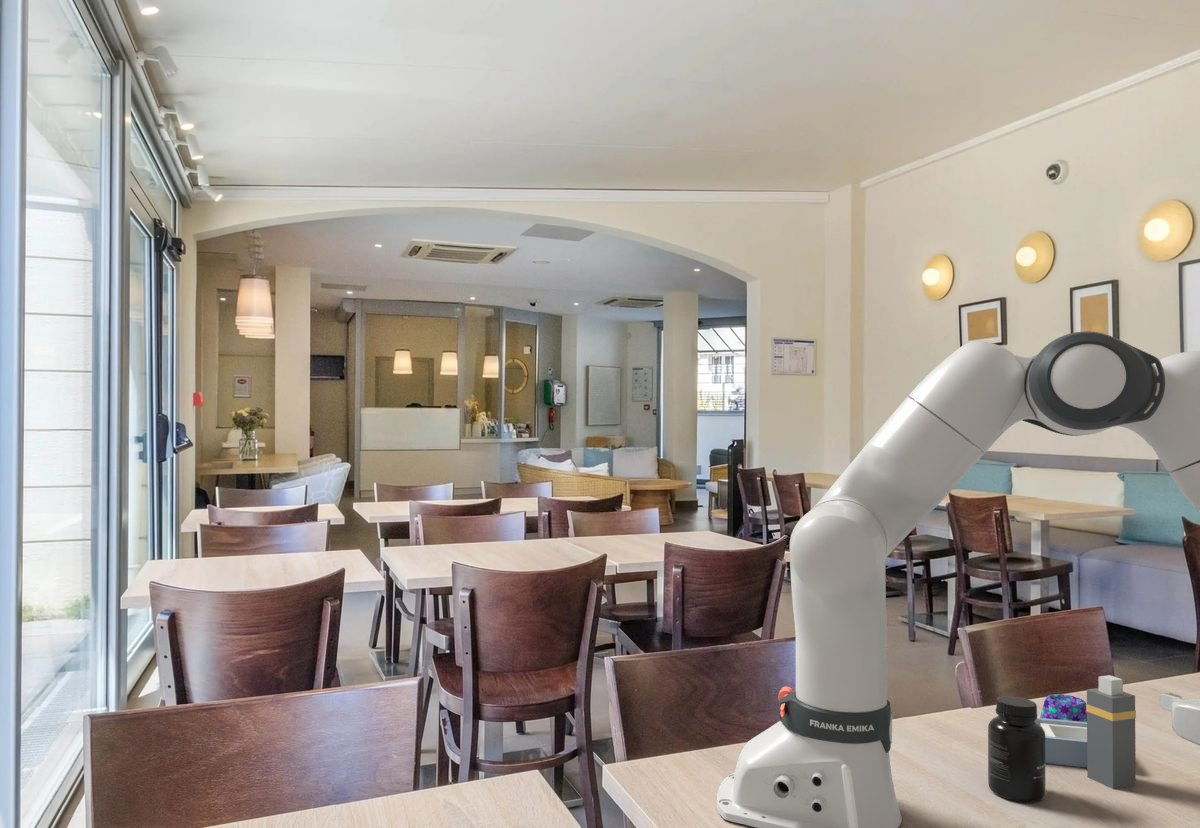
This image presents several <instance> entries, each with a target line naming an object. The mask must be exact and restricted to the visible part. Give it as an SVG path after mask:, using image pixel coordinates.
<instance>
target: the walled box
mask: <svg viewBox="0 0 1200 828" xmlns="http://www.w3.org/2000/svg"><path fill="white" fill-rule="evenodd" d="M1035 722H1037V723H1038V724H1039V725H1040V726H1041V727H1042V728H1043V730H1044V732H1045V764H1050V765H1060V766H1068V767H1077V768H1087V722H1078V721H1068V720H1057V719H1047V718H1037V719H1036V720H1035Z"/></svg>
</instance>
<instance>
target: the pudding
mask: <svg viewBox="0 0 1200 828" xmlns="http://www.w3.org/2000/svg"><path fill="white" fill-rule="evenodd" d="M1086 704H1087V701H1085V700H1084V699H1082V698H1081V697H1076V696H1074V695H1068V694H1062V693H1056V694H1048V695H1047V696H1046V697H1045V699H1044V701H1043V705H1042V709H1041V713H1040V714H1037V718H1047V719H1057V720H1068V721H1078V722H1087V711H1086Z"/></svg>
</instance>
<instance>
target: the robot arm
mask: <svg viewBox="0 0 1200 828" xmlns="http://www.w3.org/2000/svg"><path fill="white" fill-rule="evenodd" d="M1022 421H1023V422H1025V423H1028V424H1032V425H1033V426H1037V427H1039V428H1042V429H1045V430H1047V431H1050V432H1053V433H1056V434H1060V435H1065V436H1071V437H1074V436H1075V437H1079V436H1080V437H1081V436H1089V435H1094V434H1098V433H1101V432H1105V431H1106V430H1109V429H1111V428H1115V427H1121V428H1125V429H1128V430H1130V431H1132V432H1133V433H1136V434H1137V435H1139V436H1140V437H1141V438H1142V439H1143V440H1144V441H1145V442H1146V443H1147V444H1148V445H1149V446H1150V447H1151V448H1152V450H1154V452H1155V454H1156V455H1157V458H1158V459H1159V461H1160V462H1161V464H1162V465H1163V466H1164V469H1165V470H1166V471H1167V472H1168V475H1170V477H1171V478H1172V481H1173V482H1174V483H1175V485H1176V486H1177V487H1178V489H1179V491H1180V492H1181V493H1182V494H1183V496H1184V498H1185V499H1186V500H1187V501H1188V502H1189V503H1190V504H1191V505H1192V506H1193V508H1195V509H1196V510H1197V511H1199V513H1200V351H1195V350H1194V351H1185V352H1178V353H1173V354H1170V355H1168V356H1164V357H1163V358H1160V359H1159V358H1158V357H1157V356H1155V355H1152V354H1151V353H1148V352H1146V351H1144V350H1142V349H1139V348H1137V347H1135V346H1133V345H1131V344H1129V343H1127V342H1125V341H1123V340H1121V339H1120V338H1117V337H1114V336H1112V335H1110V334H1106V333H1102V332H1098V331H1097V332H1096V331H1088V330H1086V331H1084V330H1083V331H1076V332H1071V333H1068V334H1063V335H1062V336H1059V337H1056V339H1054V340H1052V341H1051V342H1049V343H1047V345H1045V346H1044V347H1043V348H1042V349H1041V350H1040V351H1039V352H1038V354H1036V355H1033V356H1031V355H1030V356H1020V355H1017V354H1014V353H1013V352H1011V351H1010V350H1008V349H1007V348H1005V347H1004V346H1001V345H999V344H996V343H993V342H988V341H981V340H977V341H976V340H975V341H971V342H967V343H965V344H963V345H961V346H960V347H959V348H957V349H956V350H954V352H952V353H951V354H950V355H948V356H947V357H945V359H943V360H942V361H941V362H940V363H939V364H938V365H936V366H935V367H934V368H933V369H932V370H931V371H930V372H929V373H928V374H927V375H926V376H925V377H924V378H923V379H922V380H921V381H920V382H918V384H917V385H916V387H914V389H913V390H912V391H911V392H910V393H909V394H908V396H906V397H905V399H904V400H903V401H902V402H901V403H900V404H899V405H898V407H897V408H896V409H895V410H894V412H893V413H892V414H891V415H890V417H888V419H887V420H886V421H885V422H884V423H883V424H882V425H881V427H880V428H879V429H878V430H877V431H876V432H875V434H874V435H873V436H872V437H871V438H870V439H869V441H868V442H867V443H866V444H865V446H863V448H862V449H861V450H860V451H859V452H858V454H857V455H856V456H855V458H854V459H853V460H852V461H851V463H850V464H849V465H848V466H847V467H846V468H845V470H844V471H843V472H842V474H840V475H839V477H838V478H837V479H836V480H835V482H834V483H833V484H832V485H831V487H830V488H829V489H828V490H827V491H826V492H825V493H824V495H822V497H821V498H820V500H818V502H817V503H816V504H815V505H814V506H813V507H812V508H811V509H810V510H809V511H808V512H807V513H805V514H804V515H803V516H802V517H801V518H800V519H799V520H798V521H797V522H796V525H794V528H793V530H792V532H791V535H790V539H789V567H790V584H791V585H790V586H791V587H790V588H791V598H792V600H791V601H792V611H793V621H794V630H795V690H793V688H791V687H790V686H783V687H781V689H779V692H778V697H777V699H778V701H779V705H778V717H779V718H778V719H779V721H777V722H776V723H774V724H773V725H770V727H768V728H766V729H765V730H763V731H762V732H761V733H759V734H757V735H756V736H754V737H752V738H751V739H750V740H748V742H747V743H746V744H745V745H744V746H743V747H742V748H741V749H742V750H741V751H740V753H739V755H738V758H737V762H736V766H735V770H734V772H732V773H730V774H728V775H727V776H726V777H725V778H724V779H723V780H722V782H721V783H720V785H719V788H718V789H717V794H716V802H715V804H716V809H717V813H718V814H719V815H720V816H721V818H723V820H726V821H729V822H732V823H736V824H742V825H745V826H749V827H754V828H899V827H900V825H901V824H902V820H903V819H902V813H901V810H900V807H899V804H898V801H897V796H896V792H895V788H894V781H893V774H892V768H891V759H890V757H891V756H890V750H891V747H892V743H893V712H892V707H891V702H890V701H889V700H888V635H887V633H888V632H887V630H888V629H887V601H886V599H887V598H886V597H887V595H886V594H887V593H886V591H887V590H886V586H887V585H886V581H887V580H886V579H887V578H886V559H887V558H888V556H889V555H891V553H892V552H893V551H894V550H895V549H896V548H897V546H899V544H900V543H901V542H903V540H905V538H906V537H907V536H908V535H910V533H911V532H912V531H913V530H914V529H915V528H916V527H917V526H918V525H919V524H921V522H922V521H923V520H924V519H925V518H926V517H928V515H929V514H930V513H931V512H932V511H933V510H934V509H936V507H938V506H939V504H941V503H942V501H943V500H944V499H945V498H947V497H948V495H949V494H950V493H951V492H952V491H953V490H954V488H955V487H956V486H957V485H958V484H959V482H961V481H962V480H963V478H964V477H965V476H966V475H967V474H968V473H969V472H970V470H971V469H973V467H974V466H975V465H976V463H978V461H979V460H980V459H981V458H982V457H983V456H984V455H985V454H986V453H987V452H988V450H989V449H990V448H991V447H992V446H993V445H994V443H996V442H997V440H998V439H999V438H1000V437H1001V436H1002V435H1003V434H1004V433H1005V432H1006V431H1007V430H1009V428H1011V427H1013V425H1015V424H1016V423H1019V422H1022ZM1182 697H1183V696H1182V695H1179V694H1175V693H1172V692H1167V693H1160V694H1159V695H1158V701H1159V702H1158V703H1159V707H1160V708H1161V709H1162V710H1165V711H1168V712H1171V726H1172V727H1171V728H1172V730H1173V732H1174V734H1176V735H1177V736H1179V737H1180V738H1182V739H1183V740H1186V741H1188V742H1190V743H1193V744H1195V745H1197V746H1200V697H1199V698H1192V699H1185V700H1184V699H1183V698H1182Z"/></svg>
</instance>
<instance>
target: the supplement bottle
mask: <svg viewBox="0 0 1200 828" xmlns="http://www.w3.org/2000/svg"><path fill="white" fill-rule="evenodd" d="M995 704H996V705H995V706H996V708H995V714H996V715H997V716H996V717H993V718H992V719H991V720H990V721H989V723H988V726H987V760H988V761H987V783H988V787H989V790H991V792H992V793H994V794H995V795H997V796H999V797H1001V798H1003V799H1006V800H1008V801H1009V800H1010V801H1013V802H1019V803H1029V804H1030V803H1037V802H1040V801H1042V800H1043V799H1044V798H1045V797H1046V783H1047V782H1046V781H1047V779H1046V763H1045V732H1044V730H1043V728H1042V727H1041V726H1040V725H1039V724H1038V723H1037V722H1035V720H1036V719H1037V715H1038V712H1037V711H1038V707H1037V703H1036V702H1035V701H1033V700H1031V699H1029V698H1025V697H1024V698H1023V697H1018V696H1010V695H1009V696H1008V695H1006V696H1005V695H1004V696H999V697H997V698H996V703H995Z"/></svg>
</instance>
